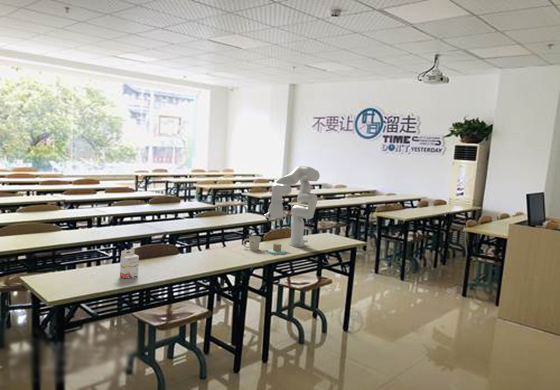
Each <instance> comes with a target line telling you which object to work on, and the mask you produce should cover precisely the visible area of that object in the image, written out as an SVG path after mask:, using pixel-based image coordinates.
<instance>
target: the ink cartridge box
mask: <svg viewBox="0 0 560 390" xmlns="http://www.w3.org/2000/svg"><path fill="white" fill-rule="evenodd" d="M120 254H121V255H120V261H119V263H120V264H119V273H120V274H119V278H121V277H123V278H122V279H124V278H127V279H129V278H128V277H132V278H135V277H134V276H137V277H138V276H139V266H140V265H139V258H140V256H139V255H137V254H135V249H134V248H131V249H125V250H121V252H120Z"/></svg>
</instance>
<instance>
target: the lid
mask: <svg viewBox="0 0 560 390" xmlns="http://www.w3.org/2000/svg"><path fill="white" fill-rule="evenodd" d="M267 250H268V252H269V253H272V254H285V253H286V252H287V251H286V250H285V249H282V244H281V243H280V242H277V243H273V247H272V248H270V249H267ZM269 253H268V254H269ZM272 254H271V255H272ZM285 255H286V254H285Z"/></svg>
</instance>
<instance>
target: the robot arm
mask: <svg viewBox="0 0 560 390" xmlns="http://www.w3.org/2000/svg"><path fill="white" fill-rule="evenodd" d="M320 177H321V175H320V172H319V171H318V170H317V169H315V168H313V167H310V166H303V165H298V166H296V167H295V168H294V169H292V170H291V172H290V173H289V174H287V175H285V176H282V177H280V178H278V179H277V180H276V181H275V182H273V184H272V186H271V200H270V204H269V206H268V211H267V213H265V214H264V218H265V220H266V221H267V224H266V225H267V227H271V220H272V219H280V220H279V224H278V225H279V226H280V227H283V226H284V225H283V224H284V221H285V219H286V217H287V216H288V214H287V213H285V212H284V205H283V203H284V200H283V195H285V196H288V195H289V194H291V192H292V187H291V186H294V185H296V184H298V182H300V187H299V191H298V194H297V198H296V202H297V203H298V204H296V205H293V206H292V207H291V228H290V229H291V231H290V242H288V244H287V245H288V246H291V247H293V248H294V247H295V248H303V247H305V246H306V245H305V243H307V244H308V239H304V232H305V221H304V219H306V220H310V219H312V218H313V217H314V214H315V211H316V209H317V204H318V195H316V193H312V192H311V191H312V186H311V183H310V182H318V181H319V179H320Z"/></svg>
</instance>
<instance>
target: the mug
mask: <svg viewBox="0 0 560 390" xmlns="http://www.w3.org/2000/svg"><path fill="white" fill-rule="evenodd" d="M247 241H249V243H248V244H249V246H247V245H246V244H245V243H246V242H247ZM260 243H261V236H259V235H249V237H248V238H244V240H243V241H242V245H243V247H244V248H247V249H249V250H250V251H258V250H259V249H260Z"/></svg>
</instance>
